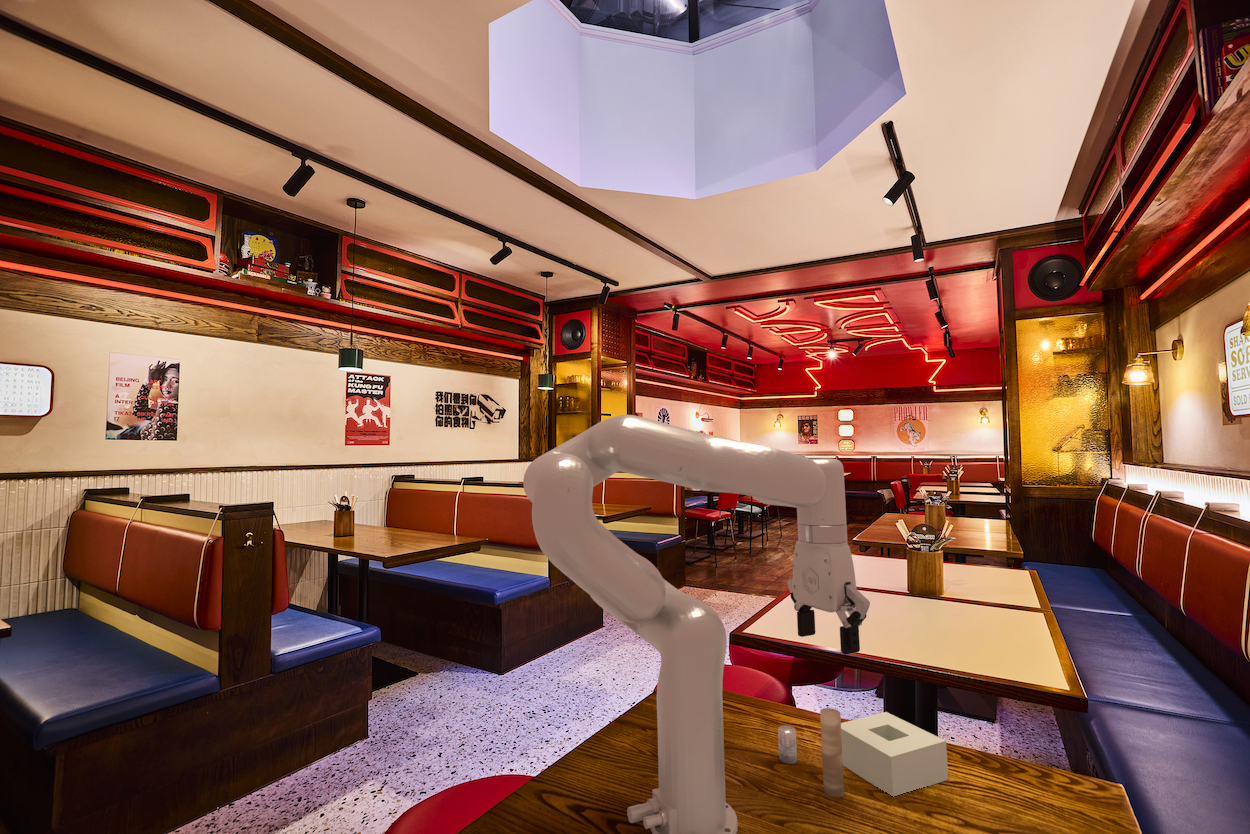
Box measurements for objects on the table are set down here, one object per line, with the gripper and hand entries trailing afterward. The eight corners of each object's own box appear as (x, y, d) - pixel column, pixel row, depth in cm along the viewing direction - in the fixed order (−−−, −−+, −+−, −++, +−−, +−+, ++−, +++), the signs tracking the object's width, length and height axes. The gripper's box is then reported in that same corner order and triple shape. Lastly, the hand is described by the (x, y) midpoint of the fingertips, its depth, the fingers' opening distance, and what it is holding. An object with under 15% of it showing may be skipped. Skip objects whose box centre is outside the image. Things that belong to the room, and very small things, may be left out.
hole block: (893, 797, 88) (891, 756, 88) (836, 760, 99) (834, 724, 99) (948, 779, 92) (946, 740, 93) (888, 746, 103) (886, 711, 104)
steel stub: (786, 765, 98) (785, 734, 98) (775, 757, 100) (774, 727, 101) (800, 761, 99) (799, 731, 99) (789, 753, 102) (788, 724, 102)
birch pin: (833, 799, 88) (829, 717, 89) (819, 789, 90) (816, 710, 91) (848, 794, 89) (844, 714, 90) (834, 784, 92) (830, 706, 93)
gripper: (769, 531, 99) (774, 632, 98) (844, 543, 83) (850, 664, 82) (804, 528, 102) (809, 626, 101) (882, 539, 86) (889, 656, 85)
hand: (827, 643), depth 91 cm, fingers open, 9 cm apart
